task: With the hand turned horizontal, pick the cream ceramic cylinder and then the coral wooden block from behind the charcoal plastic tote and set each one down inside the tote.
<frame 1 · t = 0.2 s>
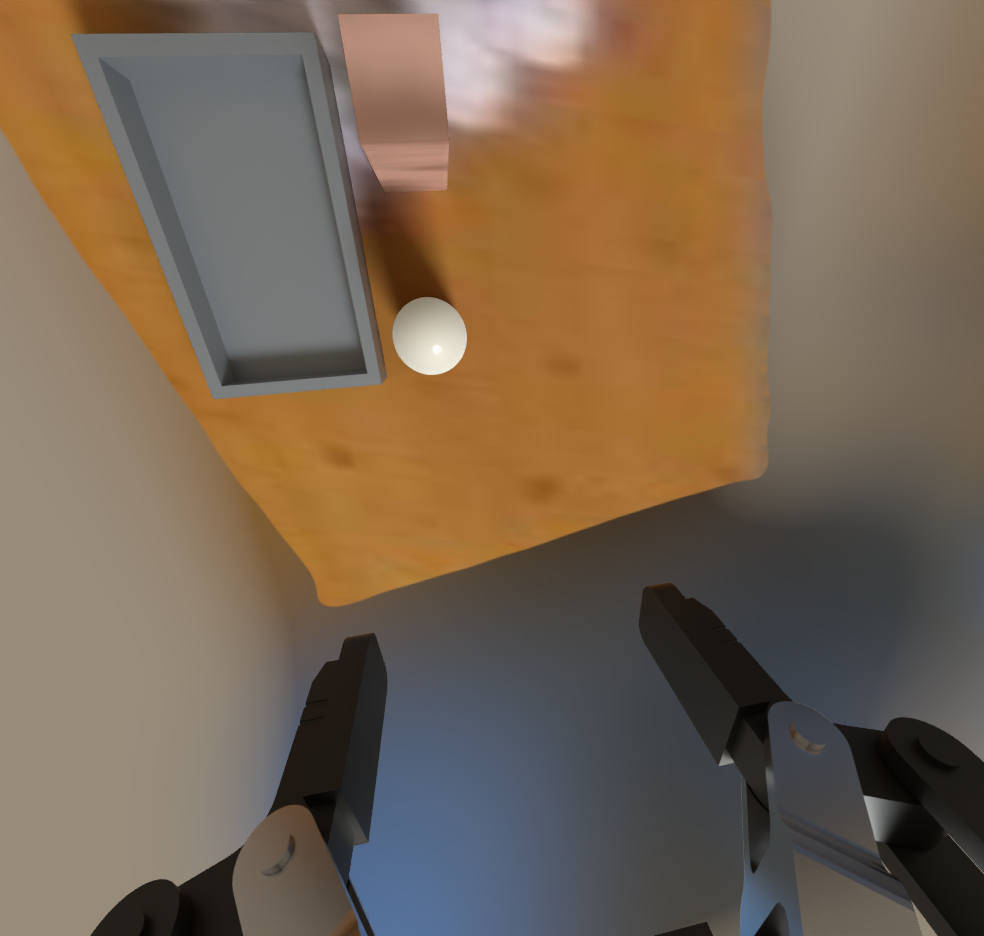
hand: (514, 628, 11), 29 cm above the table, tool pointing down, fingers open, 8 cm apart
cream cylinder: (433, 328, 34), on the table
tote: (275, 249, 30), on the table
coral block: (411, 152, 28), on the table
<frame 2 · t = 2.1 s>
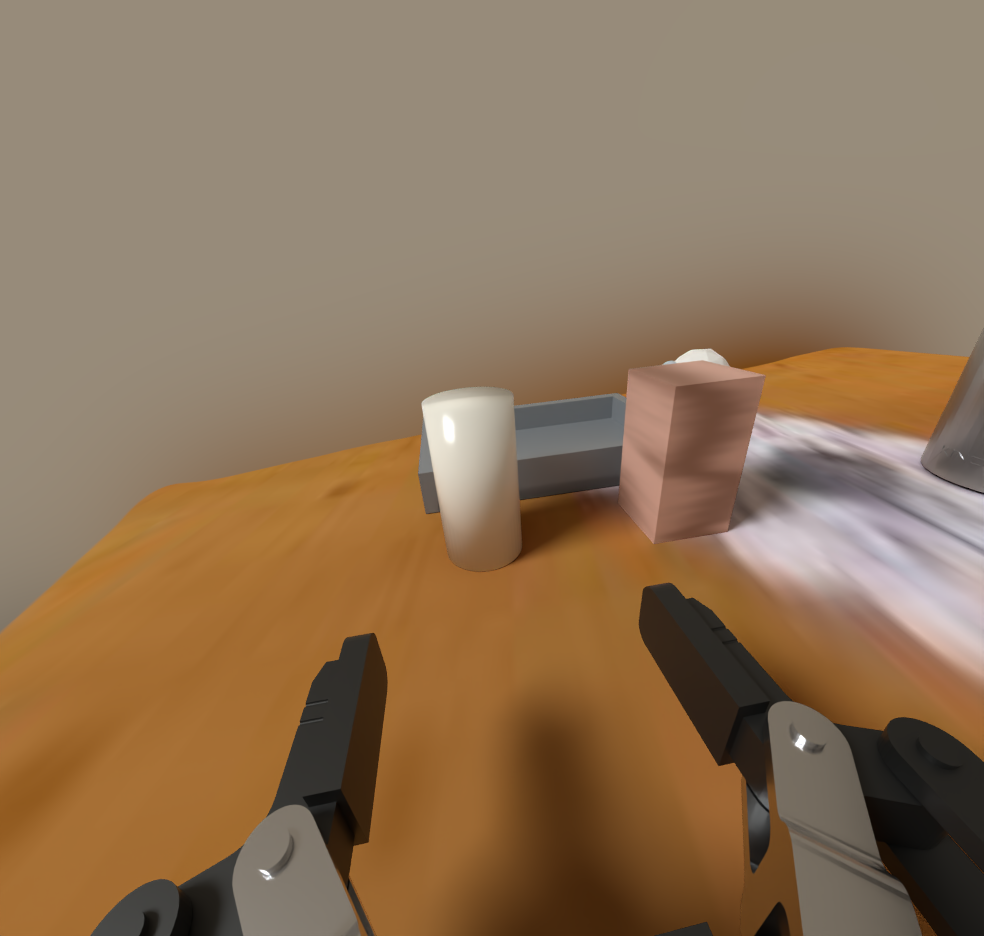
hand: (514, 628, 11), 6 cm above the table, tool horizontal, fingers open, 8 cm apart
cream cylinder: (484, 545, 24), on the table
tote: (540, 458, 36), on the table
alien figurine: (696, 404, 47), on the table
coral block: (668, 516, 25), on the table
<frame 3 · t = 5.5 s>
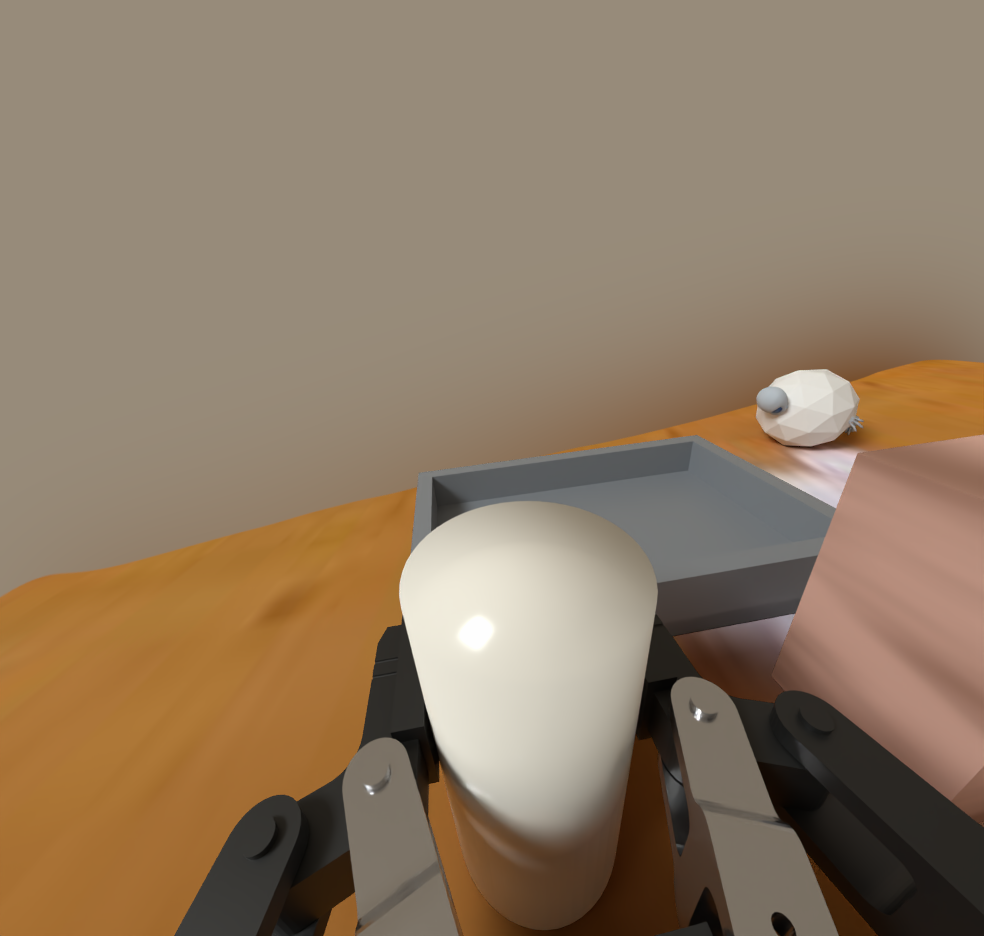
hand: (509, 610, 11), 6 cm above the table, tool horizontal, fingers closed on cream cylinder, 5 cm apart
cream cylinder: (535, 807, 12), on the table, touching gripper
tote: (597, 546, 23), on the table
alien figurine: (796, 443, 34), on the table
coral block: (894, 728, 13), on the table
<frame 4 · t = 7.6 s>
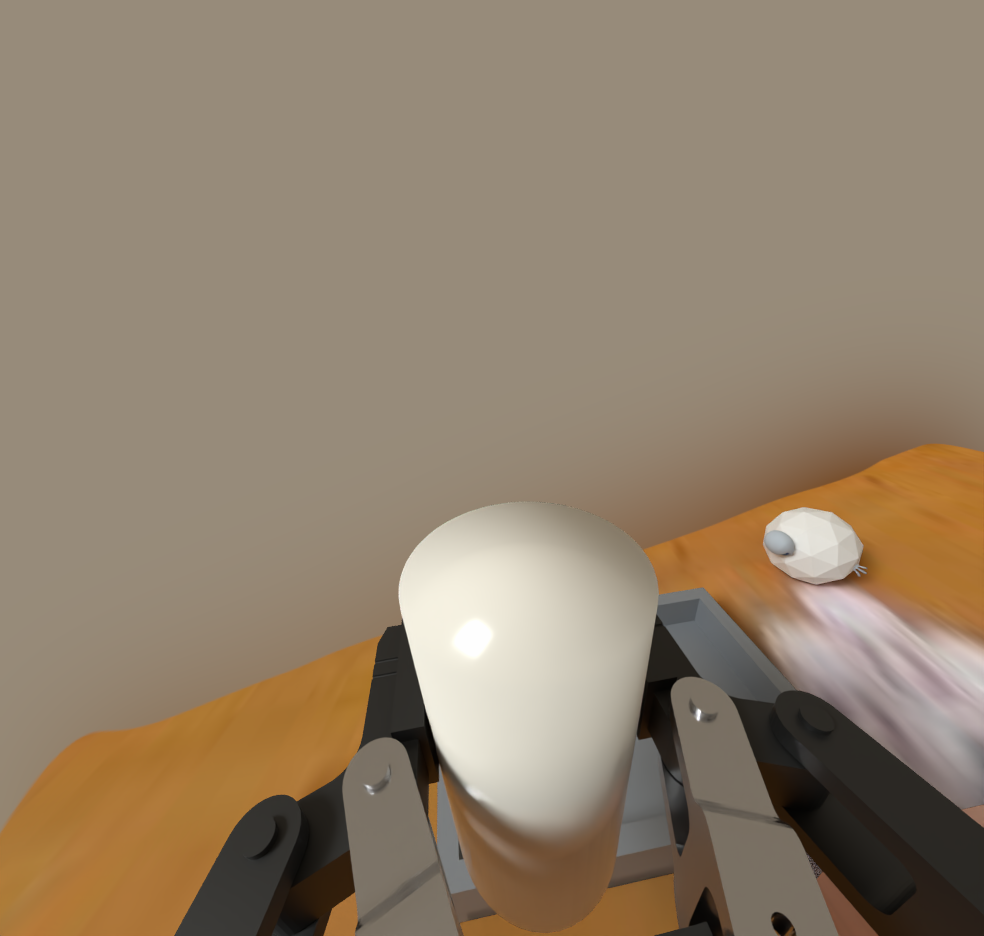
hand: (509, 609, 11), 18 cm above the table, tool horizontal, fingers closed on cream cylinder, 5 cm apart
cream cylinder: (535, 809, 12), point 12 cm above the table, touching gripper
tote: (608, 726, 24), on the table
alien figurine: (802, 572, 36), on the table
when the fingers open (9 cm above the table, at t = 10.2 s): cream cylinder drops 2 cm, resting on tote.
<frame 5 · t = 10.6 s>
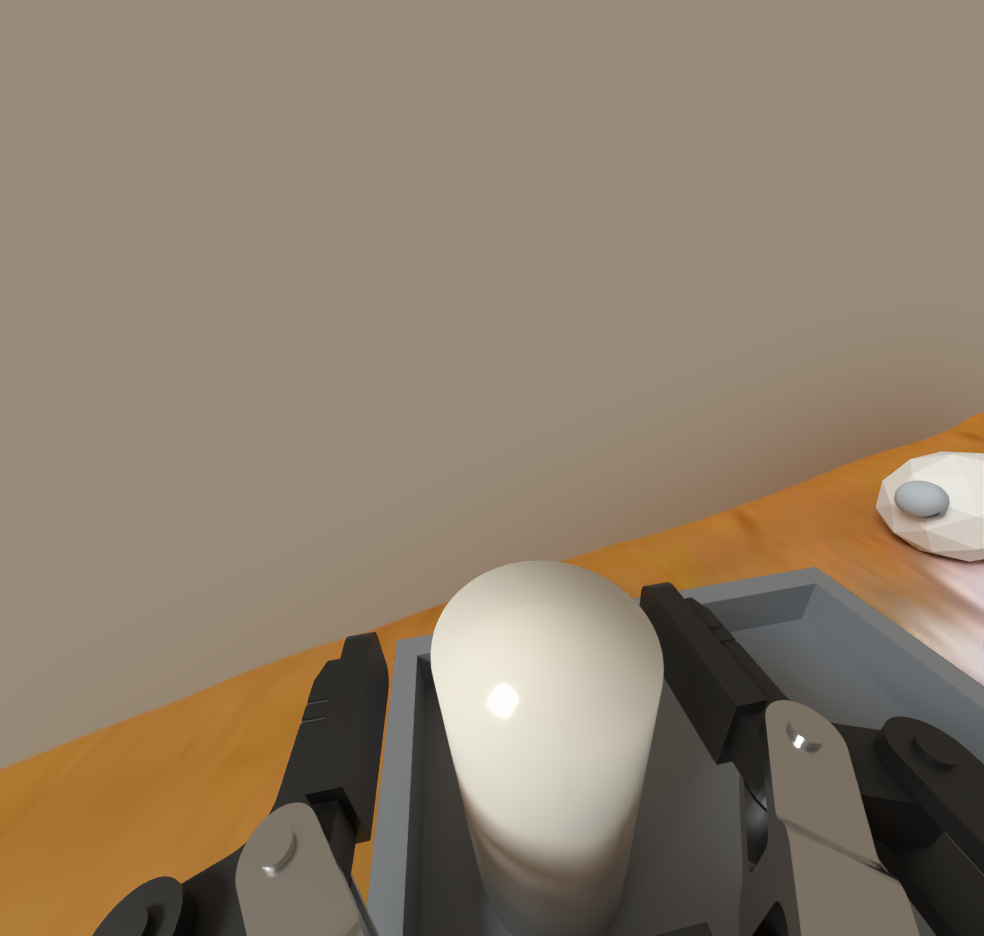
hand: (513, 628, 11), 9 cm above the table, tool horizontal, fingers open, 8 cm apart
cream cylinder: (548, 836, 13), point 1 cm above the table, touching tote
tote: (695, 812, 14), on the table
alien figurine: (934, 546, 25), on the table
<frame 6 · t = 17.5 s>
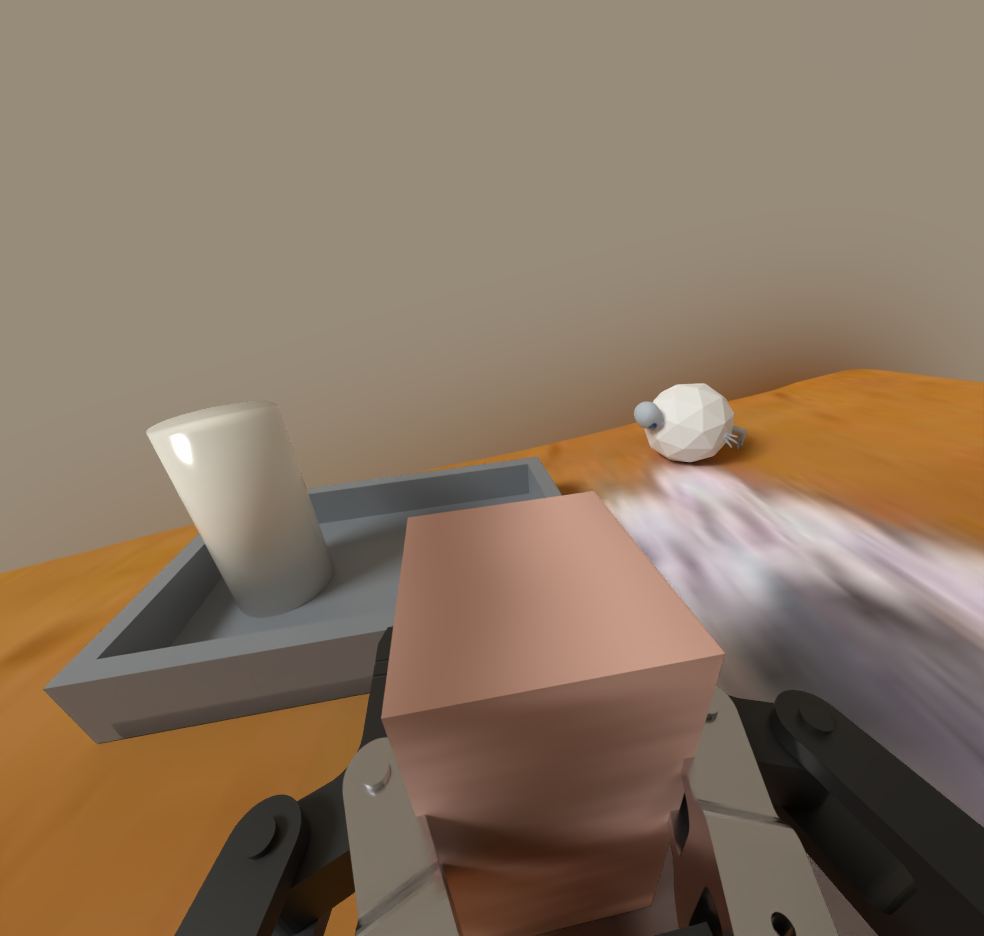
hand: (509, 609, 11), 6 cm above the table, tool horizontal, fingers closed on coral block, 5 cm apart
cream cylinder: (288, 582, 21), point 1 cm above the table, touching tote
tote: (390, 579, 22), on the table
alien figurine: (685, 458, 34), on the table
coral block: (536, 807, 12), on the table, touching gripper
when the fingers open (9 cm above the table, at t = 22.4 s): coral block drops 2 cm, resting on tote.
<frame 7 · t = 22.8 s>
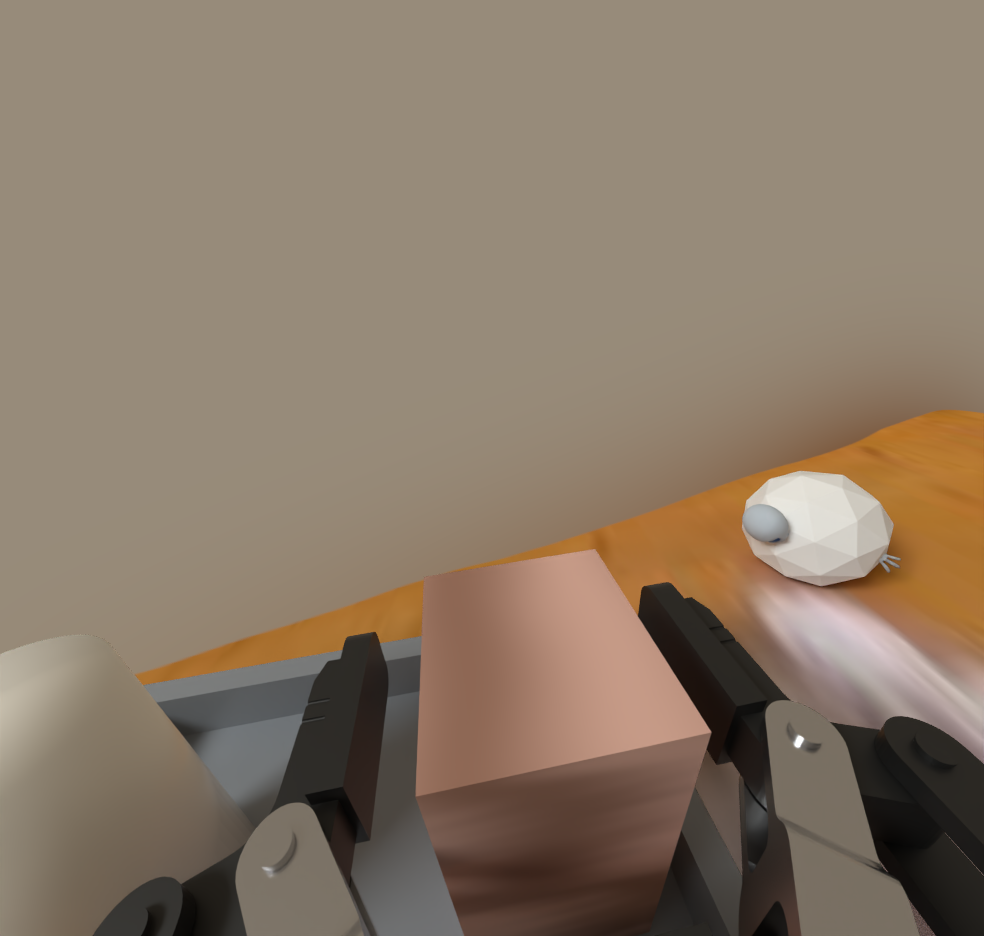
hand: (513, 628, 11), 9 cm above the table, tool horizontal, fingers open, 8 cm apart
cream cylinder: (178, 922, 11), point 1 cm above the table, touching tote
tote: (368, 889, 12), on the table
alien figurine: (799, 567, 24), on the table
coral block: (542, 836, 13), point 1 cm above the table, touching tote
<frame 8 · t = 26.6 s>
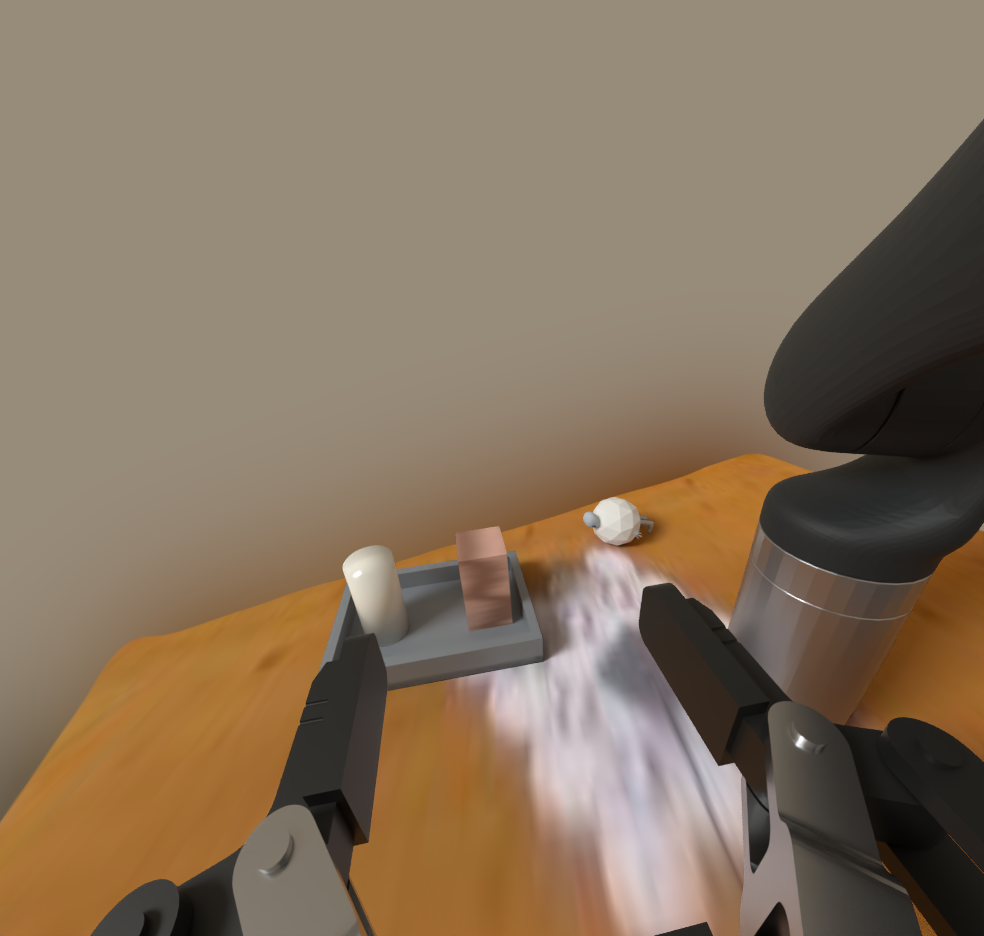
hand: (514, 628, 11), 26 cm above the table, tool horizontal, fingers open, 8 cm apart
cream cylinder: (387, 628, 42), point 1 cm above the table, touching tote
tote: (437, 625, 43), on the table
alien figurine: (616, 539, 55), on the table
coral block: (488, 610, 43), point 1 cm above the table, touching tote
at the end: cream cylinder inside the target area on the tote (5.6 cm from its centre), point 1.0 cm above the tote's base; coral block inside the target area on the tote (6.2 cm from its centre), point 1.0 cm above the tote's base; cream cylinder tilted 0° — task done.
